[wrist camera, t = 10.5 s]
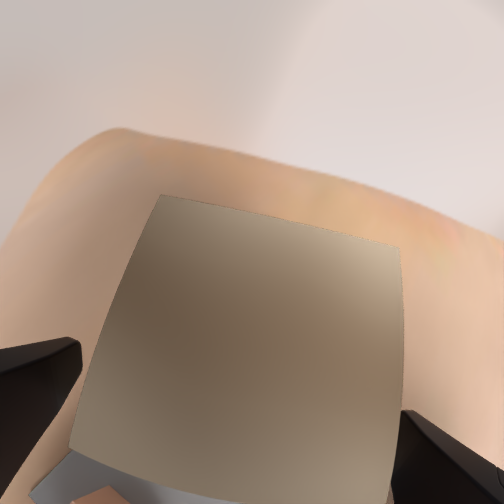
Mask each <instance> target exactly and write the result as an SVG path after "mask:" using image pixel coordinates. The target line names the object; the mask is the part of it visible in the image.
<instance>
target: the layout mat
mask: <svg viewBox="0 0 504 504" xmlns="http://www.w3.org/2000/svg"><path fill="white" fill-rule="evenodd" d="M108 485H110V486H111V487H112V488H113V489H114V490H115V491H116V492H118V493H119V494H120V495H121V496H122V497H123V498H124V499H126V500H127V501H128V502H129V503H130V504H243V503H237V502H231V501H225V500H220V499H214V498H210V497H205V496H200V495H196V494H192V493H188V492H184V491H180V490H176V489H173V488H169V487H166V486H163V485H159V484H156V483H153V482H150V481H147V480H144V479H141V478H138V477H135V476H132V475H130V474H127V473H124V472H122V471H119V470H117V469H114V468H112V467H109V466H107V465H105V464H102V463H100V462H98V461H95V460H93V459H91V458H89V457H87V456H85V455H83V454H80V453H78V452H76V451H74V450H72V451H71V452H70V453H69V454H68V455H67V456H66V457H65V458H64V459H63V460H62V461H61V462H60V463H59V464H58V465H57V466H56V467H55V468H54V469H53V470H52V471H51V472H50V473H49V474H48V475H47V476H46V477H45V478H44V479H43V480H42V481H41V482H40V483H39V484H38V485H37V486H36V487H35V488H34V489H33V490H32V491H31V493H30V494H29V496H30V497H31V499H32V500H33V501H34V502H35V503H36V504H70V503H71V502H72V501H74V500H76V499H78V498H81V497H83V496H86V495H88V494H90V493H92V492H95V491H97V490H99V489H101V488H103V487H106V486H108Z"/></svg>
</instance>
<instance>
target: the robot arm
mask: <svg viewBox="0 0 504 504" xmlns="http://www.w3.org/2000/svg"><path fill="white" fill-rule="evenodd" d="M82 367H83V363H82V349H81V344H80V342H79V341H78V340H75V339H73V338H71V337H63V338H58V339H53V340H48V341H42V342H37V343H32V344H27V345H21V346H16V347H10V348H5V349H0V499H1V497H2V495H3V494H4V492H5V490H6V489H7V487H8V486H9V484H10V483H11V481H12V479H13V478H14V476H15V475H16V473H17V472H18V470H19V469H20V467H21V466H22V464H23V463H24V461H25V459H26V458H27V457H28V455H29V454H30V452H31V451H32V449H33V448H34V446H35V445H36V443H37V442H38V440H39V439H40V437H41V436H42V435H43V433H44V432H45V430H46V429H47V428H48V426H49V425H50V423H51V422H52V420H53V419H54V418H55V416H56V415H57V413H58V412H59V410H60V409H61V407H62V405H63V404H64V402H65V400H66V398H67V396H68V395H69V393H70V391H71V389H72V388H73V386H74V384H75V382H76V381H77V379H78V377H79V375H80V374H81V371H82ZM391 488H392V493H393V499H394V504H504V471H503V470H502V469H500V468H498V467H496V466H495V465H494V464H492V463H491V462H489V461H488V460H486V459H484V458H483V457H481V456H480V455H478V454H477V453H475V452H474V451H472V450H471V449H469V448H468V447H466V446H465V445H463V444H462V443H460V442H459V441H457V440H456V439H454V438H453V437H451V436H450V435H448V434H447V433H446V432H444V431H443V430H441V429H440V428H438V427H437V426H435V425H434V424H432V423H431V422H430V421H428V420H427V419H425V418H424V417H422V416H421V415H420V414H418V413H417V412H415V411H413V410H402V411H401V413H400V423H399V432H398V440H397V447H396V454H395V460H394V466H393V472H392V477H391Z"/></svg>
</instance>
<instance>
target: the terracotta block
mask: <svg viewBox="0 0 504 504" xmlns="http://www.w3.org/2000/svg"><path fill="white" fill-rule="evenodd" d="M70 504H130V503H129V502H128V501H127V500H126V499H124V498H123V497H122V496H121V495H120V494H119V493H118V492H116V491H115V490H114V489H113V488H112V487H111V486H110V485H108V486H106V487H103V488H101V489H99V490H97V491H95V492H92V493H90V494H88V495H86V496H83V497H81V498H78V499H76V500H74V501H72V502H71V503H70Z"/></svg>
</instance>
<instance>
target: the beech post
mask: <svg viewBox="0 0 504 504" xmlns="http://www.w3.org/2000/svg"><path fill="white" fill-rule="evenodd" d="M403 366H404V309H403V288H402V273H401V261H400V250H399V247H395V246H391V245H387V244H383V243H379V242H376V241H372V240H368V239H364V238H360V237H356V236H352V235H348V234H344V233H339V232H335V231H331V230H327V229H323V228H318V227H314V226H310V225H306V224H301V223H297V222H292V221H288V220H284V219H279V218H275V217H270V216H265V215H261V214H256V213H252V212H247V211H242V210H237V209H232V208H228V207H223V206H218V205H213V204H208V203H203V202H198V201H192V200H187V199H182V198H177V197H171V196H166V195H160V197H159V199H158V201H157V203H156V205H155V207H154V209H153V211H152V213H151V215H150V217H149V219H148V221H147V223H146V226H145V228H144V230H143V232H142V234H141V236H140V238H139V240H138V243H137V245H136V247H135V249H134V252H133V254H132V256H131V258H130V261H129V263H128V265H127V267H126V270H125V272H124V275H123V277H122V279H121V282H120V284H119V287H118V289H117V292H116V294H115V297H114V299H113V302H112V304H111V307H110V309H109V312H108V315H107V317H106V320H105V323H104V325H103V328H102V331H101V334H100V337H99V339H98V342H97V345H96V348H95V351H94V354H93V357H92V360H91V363H90V366H89V370H88V373H87V376H86V379H85V383H84V386H83V389H82V393H81V396H80V400H79V404H78V407H77V411H76V415H75V419H74V423H73V427H72V431H71V435H70V440H69V444H68V448H70V449H72V450H74V451H76V452H78V453H80V454H83V455H85V456H87V457H89V458H91V459H93V460H95V461H98V462H100V463H102V464H105V465H107V466H109V467H112V468H114V469H117V470H119V471H122V472H124V473H127V474H130V475H132V476H135V477H138V478H141V479H144V480H147V481H150V482H153V483H156V484H159V485H163V486H166V487H169V488H173V489H176V490H180V491H184V492H188V493H192V494H196V495H200V496H205V497H210V498H214V499H220V500H225V501H231V502H237V503H243V504H386V501H387V497H388V492H389V487H390V482H391V477H392V472H393V466H394V460H395V454H396V447H397V440H398V432H399V423H400V413H401V401H402V387H403Z"/></svg>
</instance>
